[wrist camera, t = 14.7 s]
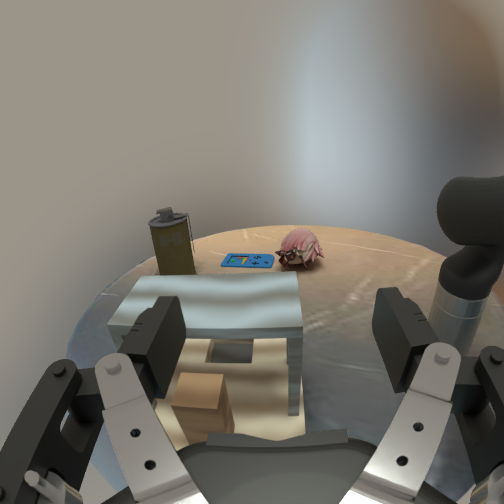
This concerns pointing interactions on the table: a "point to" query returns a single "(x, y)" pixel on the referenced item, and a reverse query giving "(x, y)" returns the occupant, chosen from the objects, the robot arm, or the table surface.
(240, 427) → the tunnel deck
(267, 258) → the handheld gaming device
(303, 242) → the toy
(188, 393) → the walnut block
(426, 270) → the table surface
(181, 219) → the canister
